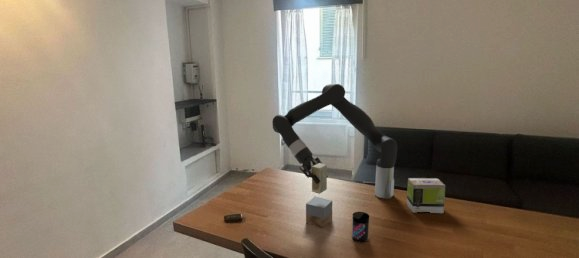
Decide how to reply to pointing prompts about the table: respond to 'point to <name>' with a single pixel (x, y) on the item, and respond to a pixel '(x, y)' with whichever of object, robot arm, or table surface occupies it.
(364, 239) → the supplement container
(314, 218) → the walnut base block
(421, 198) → the tea box
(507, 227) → the table surface
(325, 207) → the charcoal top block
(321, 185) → the skincare box
